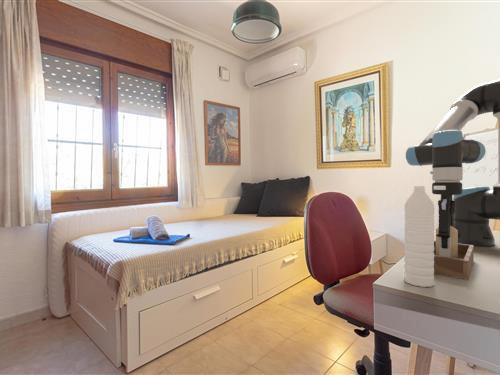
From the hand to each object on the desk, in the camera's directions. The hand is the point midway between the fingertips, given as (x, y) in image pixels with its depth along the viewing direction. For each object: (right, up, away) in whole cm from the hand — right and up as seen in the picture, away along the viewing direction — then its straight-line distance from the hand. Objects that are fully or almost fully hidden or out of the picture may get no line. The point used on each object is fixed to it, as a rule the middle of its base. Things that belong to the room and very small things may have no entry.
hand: (446, 256), depth 83 cm
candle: (0, 0, 0) cm, 0 cm away
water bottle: (-16, -3, -15) cm, 22 cm away
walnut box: (0, -3, 0) cm, 3 cm away
